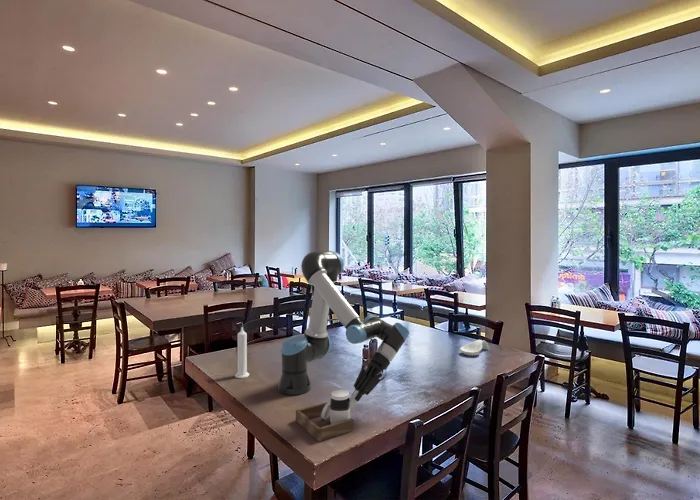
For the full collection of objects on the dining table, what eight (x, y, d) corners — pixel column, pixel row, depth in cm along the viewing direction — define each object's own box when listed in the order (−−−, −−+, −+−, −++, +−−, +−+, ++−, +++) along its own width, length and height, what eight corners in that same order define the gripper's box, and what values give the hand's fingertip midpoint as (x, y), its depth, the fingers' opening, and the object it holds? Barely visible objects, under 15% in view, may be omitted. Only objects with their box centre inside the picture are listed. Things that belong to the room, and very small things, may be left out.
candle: (240, 379, 196) (239, 329, 195) (232, 375, 200) (232, 327, 200) (252, 375, 201) (252, 326, 200) (244, 372, 206) (244, 324, 205)
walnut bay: (295, 420, 152) (295, 410, 152) (327, 411, 160) (327, 402, 160) (318, 441, 137) (318, 429, 136) (352, 430, 144) (352, 419, 144)
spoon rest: (473, 359, 231) (473, 347, 231) (456, 354, 240) (456, 342, 240) (494, 351, 247) (494, 340, 247) (477, 347, 256) (477, 336, 256)
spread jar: (350, 429, 145) (349, 398, 144) (319, 429, 145) (319, 398, 144) (350, 415, 157) (350, 386, 156) (322, 414, 157) (322, 386, 156)
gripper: (398, 366, 158) (364, 417, 150) (378, 357, 169) (345, 405, 161) (388, 355, 155) (353, 407, 147) (368, 347, 166) (334, 395, 157)
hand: (349, 406), depth 154 cm, fingers closed
